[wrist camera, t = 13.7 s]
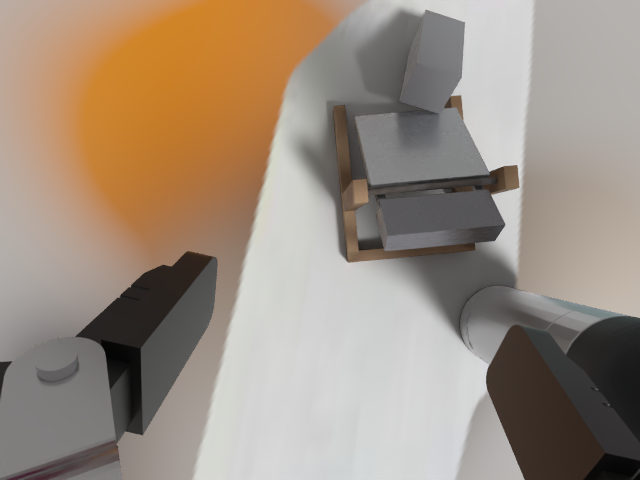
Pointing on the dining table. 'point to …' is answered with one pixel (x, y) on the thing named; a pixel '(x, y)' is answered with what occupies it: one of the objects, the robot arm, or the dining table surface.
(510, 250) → the dining table surface
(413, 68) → the basalt block
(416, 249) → the brown wooden frame
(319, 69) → the dining table surface
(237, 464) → the dining table surface
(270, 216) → the dining table surface
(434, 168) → the trapdoor plate
